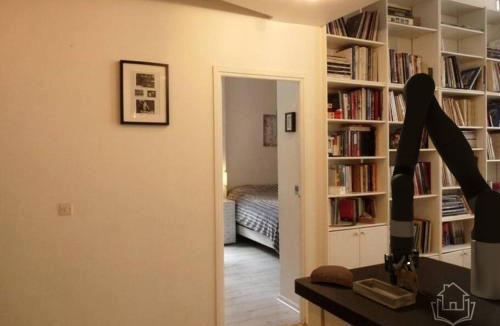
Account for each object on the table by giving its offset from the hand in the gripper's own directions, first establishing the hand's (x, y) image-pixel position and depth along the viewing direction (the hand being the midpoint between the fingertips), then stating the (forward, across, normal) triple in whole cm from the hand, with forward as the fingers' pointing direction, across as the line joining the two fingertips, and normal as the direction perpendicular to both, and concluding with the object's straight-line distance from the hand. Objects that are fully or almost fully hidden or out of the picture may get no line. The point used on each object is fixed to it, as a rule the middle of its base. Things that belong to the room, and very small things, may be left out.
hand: (401, 283), depth 129 cm
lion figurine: (+2, 0, -1) cm, 2 cm away
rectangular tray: (+2, -11, -3) cm, 12 cm away
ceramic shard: (+2, -13, +18) cm, 23 cm away
